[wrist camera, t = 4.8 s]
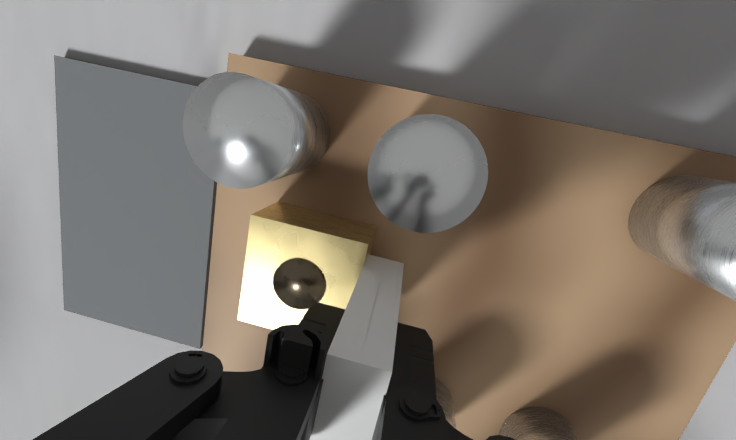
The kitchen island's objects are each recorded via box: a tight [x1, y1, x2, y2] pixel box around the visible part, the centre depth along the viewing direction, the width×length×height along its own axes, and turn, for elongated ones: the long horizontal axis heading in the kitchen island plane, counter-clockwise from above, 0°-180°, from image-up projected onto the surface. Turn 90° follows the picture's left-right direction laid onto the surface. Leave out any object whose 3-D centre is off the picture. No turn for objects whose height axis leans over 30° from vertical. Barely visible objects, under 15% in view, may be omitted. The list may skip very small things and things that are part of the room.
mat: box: [54, 55, 217, 349], centre depth 17 cm, size 8×13×1 cm, turn 168°
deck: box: [202, 53, 736, 440], centre depth 15 cm, size 22×16×1 cm
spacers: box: [183, 72, 736, 440], centre depth 13 cm, size 18×14×4 cm
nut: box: [238, 202, 377, 330], centre depth 14 cm, size 4×4×3 cm
